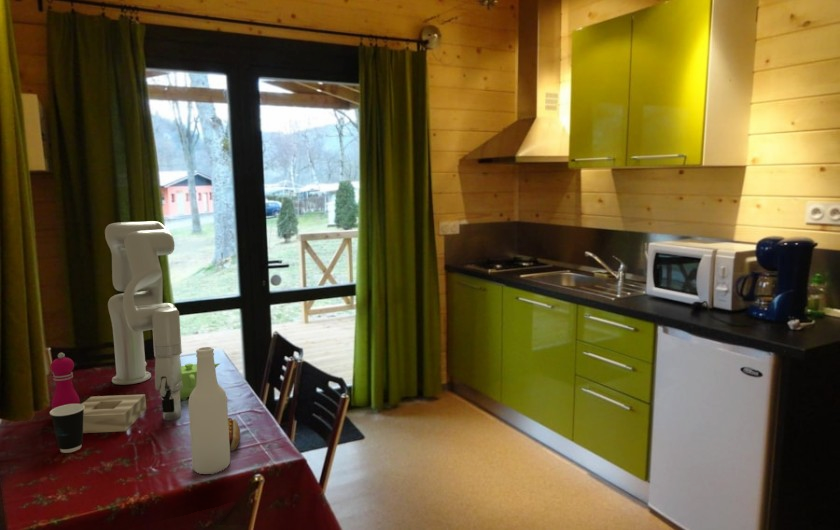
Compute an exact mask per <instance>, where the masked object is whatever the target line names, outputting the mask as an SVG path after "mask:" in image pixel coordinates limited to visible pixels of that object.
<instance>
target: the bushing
mask: <svg viewBox="0 0 840 530" xmlns="http://www.w3.org/2000/svg"><path fill="white" fill-rule="evenodd" d="M169 388H170V387H166V389H169ZM182 388H183V383H182V382H181V381H180V382H179V383H178V384H177V385H176V386H175V387H174V388H173V389H172V392H173V393H172V399H173V398H174V412H165V413H164V412H163V411H162V417H163V420H165V421H174V420H179V419H181V417H182V405H181V400H180V399H181V398H180V389H182ZM157 391H158V392H159V393H160V390H157ZM166 392H167V393H169V391H166Z"/></svg>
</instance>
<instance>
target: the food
mask: <svg viewBox="0 0 840 530" xmlns="http://www.w3.org/2000/svg"><path fill="white" fill-rule="evenodd" d="M228 426H229V444H230V452H232V451H235V450H236V448H237V447H238V445H239V443H240V440H241V434H240V433H241V429H240V426H239V423H238V422H237V420H236V419H233V418H231V417H228Z"/></svg>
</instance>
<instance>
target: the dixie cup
mask: <svg viewBox="0 0 840 530" xmlns="http://www.w3.org/2000/svg"><path fill="white" fill-rule="evenodd" d="M84 408H85V406H84V405H83V404H82V403H79V404H67V405H62V406H59V407H56V408H54V409H53V408H52V409H51V410H50V411H49V415H50V416H51V420H52V421H51V422H52V425H53V429H54V433H55V437H56V438H55V439H56V442H57V446H58V449H59V450H60V452H61V453H63V454H64V453H65V454H66V453H73V452H76V451H78V450H80V449H81V448H82V445H83V439H84V433H83V414H84Z"/></svg>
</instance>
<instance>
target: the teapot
mask: <svg viewBox="0 0 840 530" xmlns="http://www.w3.org/2000/svg"><path fill="white" fill-rule="evenodd" d="M219 365H221V363H220V362H219V363H215V369H216V368H217V367H218V366H219ZM181 371H182V378H181V382H182V383H183V388H182V389H180V401H181V400H182V401H183V400H185V401H186V400H188V397H190V394H191V393H192V391H193V390H194V388H195V387H196V383H197V363H186V364H184V365H181Z"/></svg>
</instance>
